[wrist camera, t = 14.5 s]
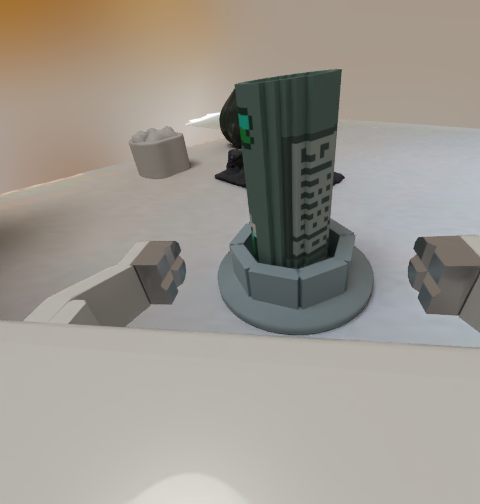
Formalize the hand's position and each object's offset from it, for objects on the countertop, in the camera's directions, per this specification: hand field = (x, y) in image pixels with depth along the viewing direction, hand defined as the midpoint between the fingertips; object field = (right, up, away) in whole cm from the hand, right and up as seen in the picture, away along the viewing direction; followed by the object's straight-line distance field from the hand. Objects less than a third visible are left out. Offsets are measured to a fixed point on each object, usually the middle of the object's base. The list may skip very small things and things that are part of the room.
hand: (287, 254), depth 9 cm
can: (+3, -2, +15) cm, 16 cm away
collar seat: (+3, -2, +16) cm, 16 cm away
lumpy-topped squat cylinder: (-20, +19, +53) cm, 60 cm away
